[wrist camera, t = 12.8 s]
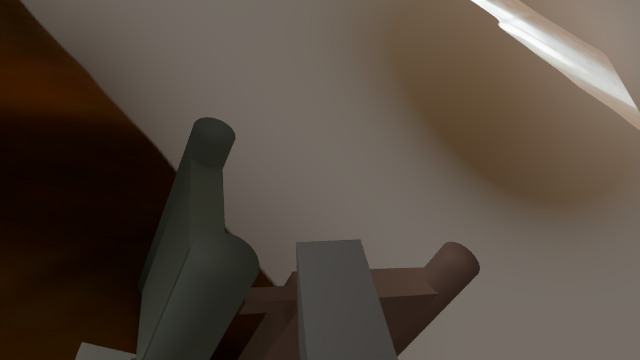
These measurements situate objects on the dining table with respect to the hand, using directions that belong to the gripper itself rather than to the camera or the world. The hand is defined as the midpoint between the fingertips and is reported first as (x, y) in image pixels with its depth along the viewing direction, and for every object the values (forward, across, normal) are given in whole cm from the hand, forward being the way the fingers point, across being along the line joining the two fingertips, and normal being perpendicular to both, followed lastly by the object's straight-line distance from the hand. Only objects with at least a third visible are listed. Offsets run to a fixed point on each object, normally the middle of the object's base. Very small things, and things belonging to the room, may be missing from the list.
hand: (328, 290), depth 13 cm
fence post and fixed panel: (+18, -10, -17) cm, 27 cm away
